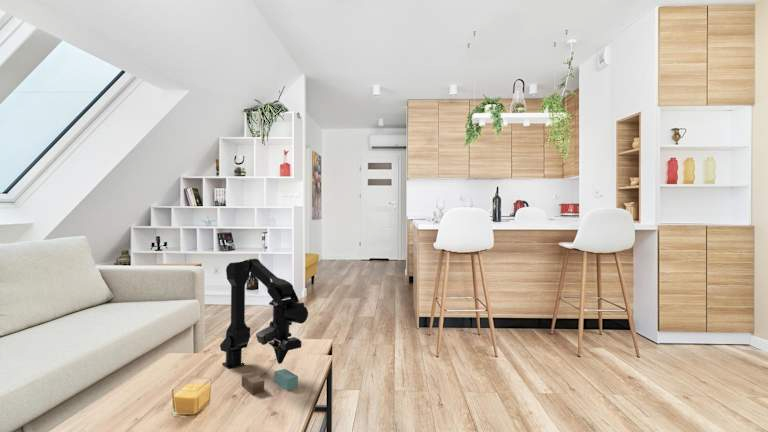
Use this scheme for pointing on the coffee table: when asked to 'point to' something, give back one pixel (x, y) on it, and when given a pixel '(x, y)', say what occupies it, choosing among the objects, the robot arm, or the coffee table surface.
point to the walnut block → (252, 383)
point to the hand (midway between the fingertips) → (279, 363)
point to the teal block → (286, 379)
